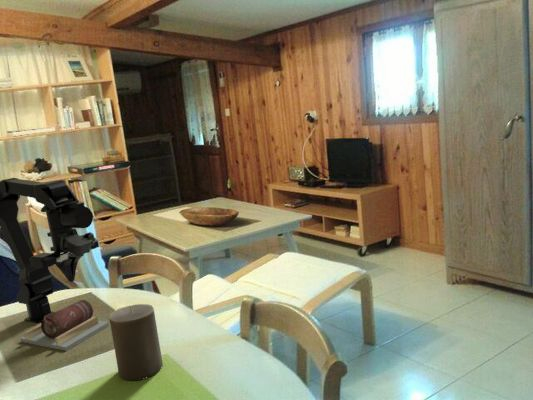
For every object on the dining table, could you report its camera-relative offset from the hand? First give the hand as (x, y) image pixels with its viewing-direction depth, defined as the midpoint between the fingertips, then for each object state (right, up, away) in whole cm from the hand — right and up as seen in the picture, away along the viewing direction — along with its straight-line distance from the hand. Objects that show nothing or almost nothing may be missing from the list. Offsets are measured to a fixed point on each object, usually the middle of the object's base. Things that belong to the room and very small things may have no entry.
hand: (71, 281), depth 138 cm
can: (+2, -9, +5) cm, 10 cm away
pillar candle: (+26, -16, -26) cm, 40 cm away
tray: (-1, -14, -2) cm, 14 cm away
